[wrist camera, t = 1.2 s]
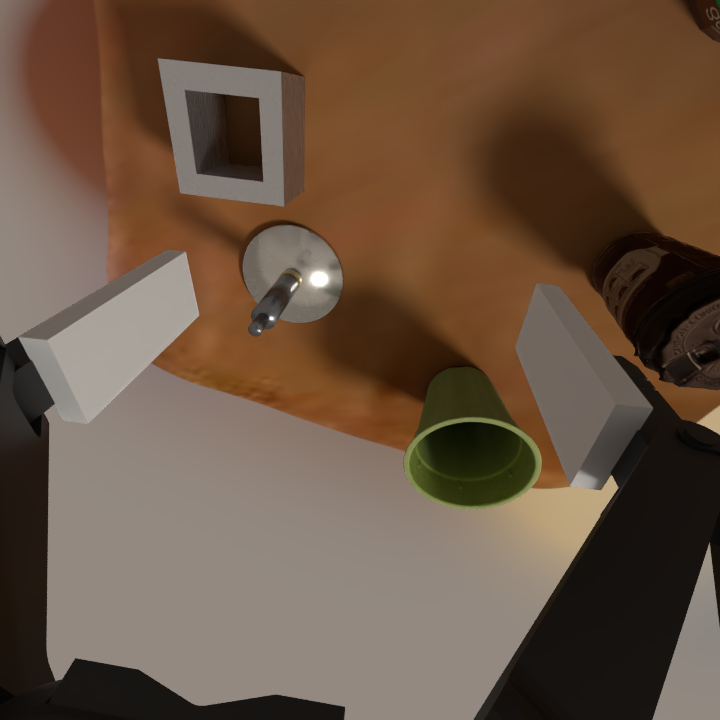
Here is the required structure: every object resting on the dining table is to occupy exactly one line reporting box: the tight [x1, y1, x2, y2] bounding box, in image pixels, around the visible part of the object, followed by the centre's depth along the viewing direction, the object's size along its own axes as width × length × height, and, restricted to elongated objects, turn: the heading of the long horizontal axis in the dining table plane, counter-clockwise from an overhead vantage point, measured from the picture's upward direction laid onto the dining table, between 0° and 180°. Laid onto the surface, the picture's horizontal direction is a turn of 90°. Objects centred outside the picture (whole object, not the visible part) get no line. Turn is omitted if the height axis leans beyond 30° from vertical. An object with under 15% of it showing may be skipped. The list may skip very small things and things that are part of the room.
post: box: [243, 224, 343, 336], centre depth 33 cm, size 10×10×11 cm
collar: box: [158, 58, 305, 206], centre depth 29 cm, size 8×8×6 cm
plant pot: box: [403, 366, 542, 509], centre depth 38 cm, size 12×12×11 cm
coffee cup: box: [592, 232, 720, 390], centre depth 28 cm, size 9×8×13 cm
